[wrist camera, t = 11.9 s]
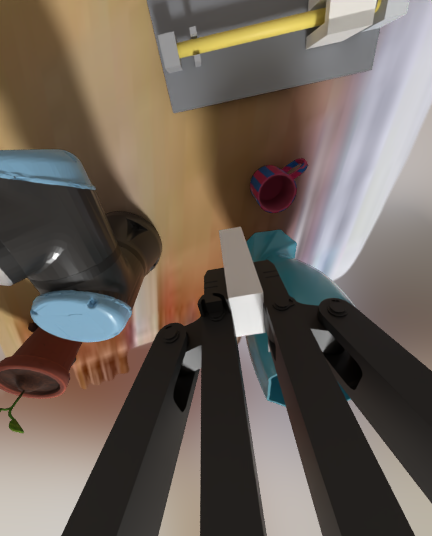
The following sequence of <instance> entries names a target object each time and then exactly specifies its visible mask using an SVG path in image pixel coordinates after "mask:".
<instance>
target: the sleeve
mask: <svg viewBox="0 0 432 536" xmlns="http://www.w3.org/2000/svg"><path fill="white" fill-rule="evenodd" d="M376 2H377V0H309V2H308V11H312V10H316V9H320V8H325V7H326V13H325V23H324V24H322V25H321V26H320V27H319V28H317V29H316V30H315V31H314V32H312V33H311V34H310V35H308V36H307V37H306V49H310V48H315V47H319V46H323V45H328V44H332V43H337V42H341V41H344V40H346V39H347V38H349V37H351V36H353V35H355V34H356V33H358V32H360V31H362V30H364V29H365V28H367V27H369V26H371V25H372V24H373V19H374V13H375V8H376Z"/></svg>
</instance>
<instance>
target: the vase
mask: <svg viewBox="0 0 432 536" xmlns="http://www.w3.org/2000/svg"><path fill="white" fill-rule="evenodd" d="M246 243H247V246H248V249H249V252H250V255H251V258H252V261H253V262H257V261H263V260H269V261H271V262H272V263H273V264H274V265H275V267H276V269H277V271H278V273H279V276H280V277H281V279H282V282H283V284H284V286H285V288H286V290H287V292H288V294H289V295H290V296H291V297H293V298H294V299H295V300H296V301H297V302H299V303H302V304H307V305H318V306H319V304H320V303H321V301H323V300H325V299H328V298H339V299H342V300H345V301H347V302H349V303H350V304H352V305H353V306H354V307H355V305H354V304H353V303H352V301H351V300H350V299H349V298H348V296H347V295H346V294H345V293H344V292H343V291H342V290H341V289H340V287H339V286H338V285H337V284H335V283H334V282H333V281H332V280H331V279H330V278H329V277H327V276H326V275H325V274H324V273H322V272H321V271H319V270H317V269H316V268H314V267H312V266H310V265H308V264H306V263H304V262H302V261H300V260H297V259H295V252H296V246H297V243H296V242H295V241H293V240H292V239H291V238H290V237H289V236H287V235H286V234H285V233H284V232H283V231H282V230H274V231H266V232H258V233H254V234H253V235H252V236H251V237H250V238H249V239H248V240H247V242H246ZM355 308H356V307H355ZM356 309H357V308H356ZM265 332H266V329H265ZM246 340H247V345H248V350H249V353H250V357H251V361H252V364H253V367H254V370H255V372H256V375H257V378H258V381H259V383H260V385H261V388H262V390H263V392H264V394H265V396H266V399H267V400H268V401H270V402H274V403H277V404H279V405H282V406H285V407H286V405H285V401H284V398H283V394H282V390H281V387H280V383H279V380H278V376H277V373H276V369H275V366H274V362H273V359H272V355H271V352H268V335H267V332H266V333H259V334H253V335H246ZM337 382H338V381H337ZM338 384H339V383H338ZM339 386H340V388H341V390H342V392H343V394H344V396H345V398H346V400H347V401H348V400H351V398H350V397H349V396H348V394H347V393H346V392H345V390H344V389H343V388H342V387H341V385H340V384H339Z"/></svg>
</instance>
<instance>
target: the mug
mask: <svg viewBox="0 0 432 536" xmlns="http://www.w3.org/2000/svg"><path fill="white" fill-rule="evenodd" d="M299 164H302V165H301V166H300V167H299V168H298V169H297V170H296V171H294V172H293V173H291V174H287V172H288V171H289V170H291V169H292V168H293V167H295V166H297V165H299ZM307 166H308V164H307V161H306V160H305V159H303V158H300V159H296V160H294V161H293V162H291V163H289V164H288V165H287V166H285V167H284V168H283V169H280V168H278V167H276V166H273V165H267V166H263V167H261V168H260V169H258V170H257V171H256V172H255V173H254V175H253V176H252V179H251V182H250V190H251V193H252V195H253V196H254V198H255V199H256V201H257V203H258V204H259V206H260V207H261V208H262V209H263V210H264V211H266V212H269V213H278V212H281V211H283V210H285V209H286V208H288V207H289V206H290V205H291V203H292V202H293V200H294V199H295V196H296V192H297V187H296V183H295V181H294V179H295V178H297V177H298V176H299V175H301V174H302V173H303V172H304V171H305V170H306V168H307Z"/></svg>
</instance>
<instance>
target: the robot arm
mask: <svg viewBox="0 0 432 536" xmlns="http://www.w3.org/2000/svg"><path fill="white" fill-rule="evenodd" d="M95 190H96V188H95V186H94V185H92V183H91V181H90V179H89V177H88V175H87V173H86V171H85V169H84V167H83V165H82V163H81V162H80V160H79V159H78V158H77V157H76V156H75V155H73V154H72V153H70V152H68V151H65V150H60V149H30V150H0V285H6V286H11V285H13V284H15V283H17V282H19V281H21V280H23V279H25V278H28V279H29V280H30V281H31V282H32V284H33V285H34V286H35V287H36V289H37V290H38V291H39V292H40V296H38V297H36V298H35V299H34V301H33V305H32V309H31V311H30V314H31V317H32V319H33V320H34V322H35V323H36V324H37V325H38V326H39V327H40V328H42V329H43V330H45V331H46V332H48V333H50V334H53V335H55V336H57V337H60V338H64V339H68V340H73V341H79V342H98V341H104V340H108V339H110V338H113V337H115V336H116V335H118V334H119V333H120V332H121V331H122V330H123V329H124V327H125V325H126V323H127V321H128V319H129V318H130V316H131V314H132V309H133V306H134V303H135V300H136V298H137V295H138V292H139V290H140V287H141V284H142V281H143V279H144V277H145V276H146V275H147V274H148V273H149V272H150V271H151V270H152V269H154V267H155V266H156V265H157V263H158V261H159V259H160V256H161V252H162V243H161V239H160V237H159V235H158V233H157V231H156V230H155V228H154V227H153V226H152V225H151V224H150V223H149V222H147V221H146V220H145V219H143V218H141V217H139V216H137V215H135V214H132V213H128V212H111V213H107V214H105V212H104V210H103V208H102V205H101V203H100V200H99V198H98V196H97V193H96V191H95ZM219 235H220V242H221V249H222V257H223V264H224V268H219V269H213V270H208V271H207V272H206V274H205V276H204V295H203V296H202V297H201V298H200V299H199V301H198V307H199V310H200V313H201V317H200V318H199V319H198V320H196V321H195V322H193V323H191V324H189V325H186V326H183V325H182V324H179V323H170V324H168V325H166V326H164V327H163V328H162V329H160V331H159V332H158V334H157V335H156V337H155V339H154V342H153V344H152V346H151V348H150V350H149V352H148V354H147V356H146V358H145V361H144V363H143V365H142V367H141V369H140V371H139V373H138V375H137V377H136V379H135V382H134V384H133V386H132V388H131V390H130V392H129V395H128V396H127V398H126V400H125V403H124V405H123V407H122V409H121V411H120V413H119V415H118V417H117V419H116V421H115V424H114V426H113V428H112V430H111V432H110V434H109V436H108V438H107V440H106V443H105V445H104V447H103V449H102V451H101V453H100V455H99V457H98V459H97V462H96V464H95V466H94V468H93V470H92V472H91V474H90V476H89V478H88V480H87V483H86V485H85V487H84V489H83V491H82V493H81V495H80V497H79V499H78V502H77V504H76V506H75V508H74V510H73V512H72V514H71V516H70V518H69V520H68V523H67V525H66V527H65V529H64V531H63V533H62V535H61V536H158V534H159V530H160V526H161V522H162V518H163V514H164V510H165V506H166V502H167V498H168V493H169V490H170V486H171V482H172V478H173V474H174V470H175V466H176V462H177V458H178V454H179V450H180V446H181V442H182V438H183V434H184V430H185V426H186V422H187V418H188V414H189V410H190V406H191V402H192V398H193V394H194V390H195V386H196V382H197V378H198V374H199V370H200V368H201V497H200V498H201V501H200V536H267V534H266V528H265V521H264V515H263V509H262V502H261V495H260V488H259V482H258V475H257V469H256V463H255V456H254V450H253V443H252V437H251V430H250V423H249V416H248V410H247V404H246V397H245V390H244V384H243V378H242V371H241V364H240V357H239V351H238V345H237V339H236V337H239V336H246V335H253V334H259V333H266V332H267V335H268V352H271V355H272V359H273V362H274V366H275V369H276V373H277V376H278V380H279V383H280V387H281V390H282V394H283V398H284V401H285V405H286V408H287V411H288V415H289V419H290V422H291V425H292V429H293V433H294V436H295V440H296V443H297V447H298V451H299V454H300V457H301V461H302V465H303V468H304V472H305V475H306V479H307V482H308V486H309V489H310V493H311V496H312V500H313V504H314V507H315V510H316V514H317V517H318V521H319V525H320V528H321V532H322V535H323V536H415V535H414V533H413V531H412V529H411V527H410V525H409V523H408V521H407V519H406V517H405V515H404V513H403V511H402V509H401V507H400V505H399V503H398V501H397V499H396V497H395V495H394V493H393V491H392V489H391V487H390V485H389V483H388V481H387V479H386V477H385V475H384V473H383V471H382V469H381V467H380V465H379V464H378V461H377V460H376V457H375V455H374V454H373V451H372V450H371V448H370V446H369V444H368V442H367V440H366V438H365V436H364V434H363V432H362V430H361V428H360V426H359V424H358V422H357V420H356V418H355V416H354V414H353V412H352V410H351V408H350V406H349V404H348V402H347V400H346V398H345V396H344V394H343V392H342V390H341V388H340V386H339V384H340V385H341V387H342V388H343V389H344V390H345V392H346V393H347V394H348V396H349V397H350V398H351V400H352V401H353V402H354V403H355V405H356V406H357V407H358V409H359V410H360V411H361V412H362V414H363V415H364V416H365V417H366V419H367V420H368V421H369V423H370V424H371V425H372V427H373V428H374V429H375V430H376V432H377V433H378V434H379V436H380V437H381V438H382V439H383V441H384V442H385V443H386V445H387V446H388V447H389V449H390V450H391V451H392V452H393V454H394V455H395V456H396V458H397V459H398V460H399V462H400V463H401V464H402V465H403V467H404V468H405V469H406V470H407V472H408V473H409V475H410V476H411V477H412V478H413V480H414V481H415V482H416V484H417V485H418V486H419V487H420V489H421V490H422V491H423V492H424V494H425V495H426V496H427V498H428V499H429V500H430V502H431V503H432V371H431V370H430V369H428V368H427V367H426V366H425V365H424V364H422V363H421V362H420V361H419V360H418V359H416V358H415V357H414V356H413V355H412V354H410V353H409V352H408V351H407V350H405V349H404V348H403V347H402V346H401V345H400V344H398V343H397V342H396V341H395V340H394V339H392V338H391V337H390V336H389V335H387V334H386V333H385V332H384V331H383V330H382V329H380V328H379V327H378V326H377V325H376V324H374V323H373V322H372V321H371V320H369V319H368V318H367V317H366V316H365V315H364V314H362V313H361V312H360V311H359V310H358V309H356V308H355V307H354V306H353V305H352V304H350V303H349V302H347V301H345V300H342V299H339V298H328V299H325V300H323V301H321V303H320V304H319V306H318V305H307V304H302V303H299V302H297V301H296V300H295V299H294V298H293V297H291V296H290V295H289V294H288V292H287V290H286V288H285V286H284V284H283V282H282V279H281V277H280V276H279V273H278V271H277V269H276V267H275V265H274V264H273V263H272V262H271V261H269V260H263V261H257V262H253V261H252V258H251V255H250V252H249V249H248V246H247V243H246V240H245V237H244V234H243V232H242V229H241V227H236V228H230V229H225V230H219ZM265 329H266V332H265ZM337 381H338V382H337ZM338 383H339V384H338Z"/></svg>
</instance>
